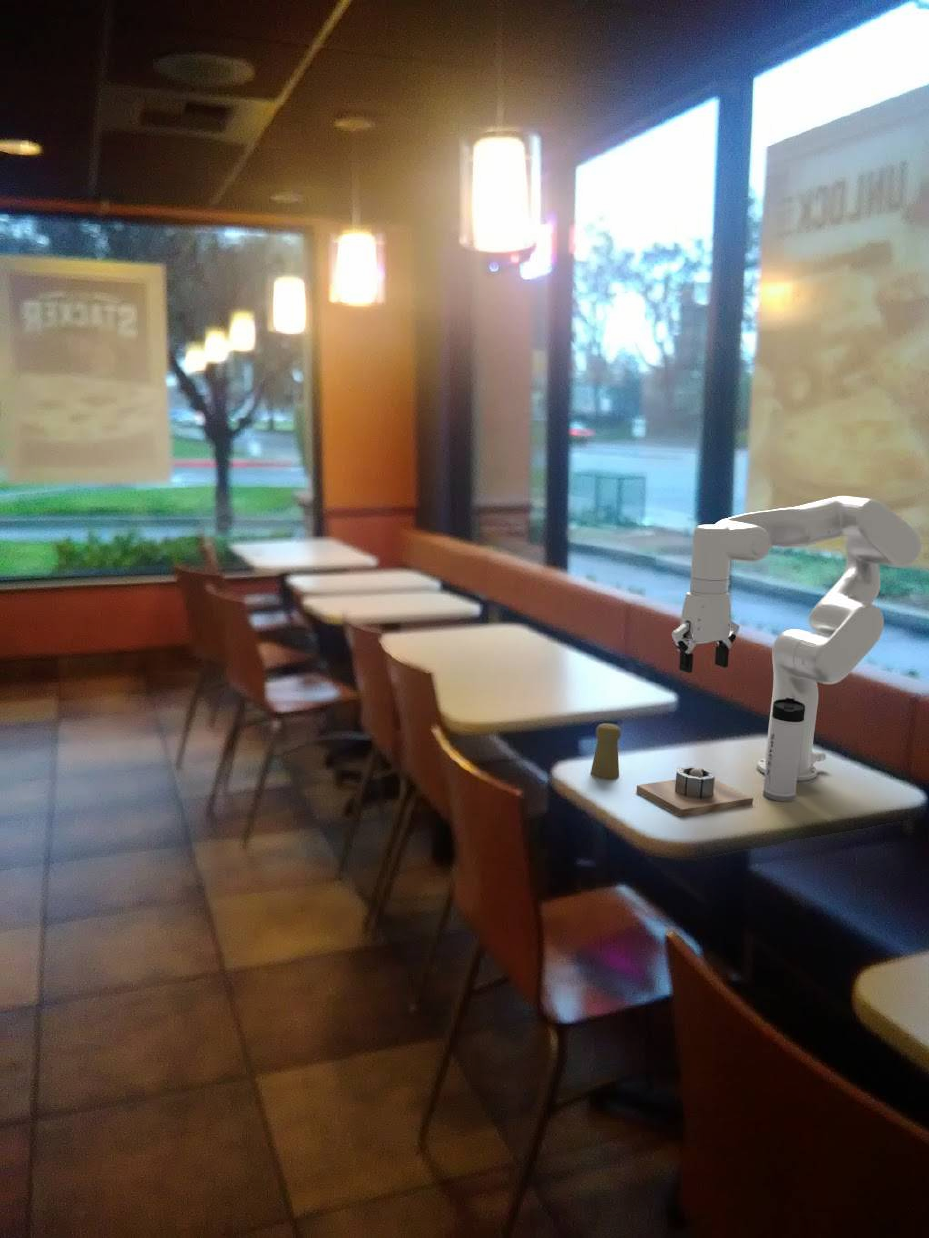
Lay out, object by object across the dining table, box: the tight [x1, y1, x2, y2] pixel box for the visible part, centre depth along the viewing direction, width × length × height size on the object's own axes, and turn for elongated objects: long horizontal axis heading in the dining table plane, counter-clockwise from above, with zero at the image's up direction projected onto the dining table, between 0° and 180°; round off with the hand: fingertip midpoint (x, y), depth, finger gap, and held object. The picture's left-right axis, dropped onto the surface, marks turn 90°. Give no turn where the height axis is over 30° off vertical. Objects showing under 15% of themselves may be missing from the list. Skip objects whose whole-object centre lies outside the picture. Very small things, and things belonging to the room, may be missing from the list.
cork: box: [590, 722, 622, 781], centre depth 216 cm, size 6×6×11 cm
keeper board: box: [636, 768, 754, 818], centre depth 205 cm, size 18×14×6 cm
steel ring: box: [675, 765, 716, 799], centre depth 204 cm, size 7×7×4 cm
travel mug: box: [762, 698, 805, 803], centre depth 207 cm, size 6×7×20 cm
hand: (703, 668), depth 210 cm, fingers open, 9 cm apart
